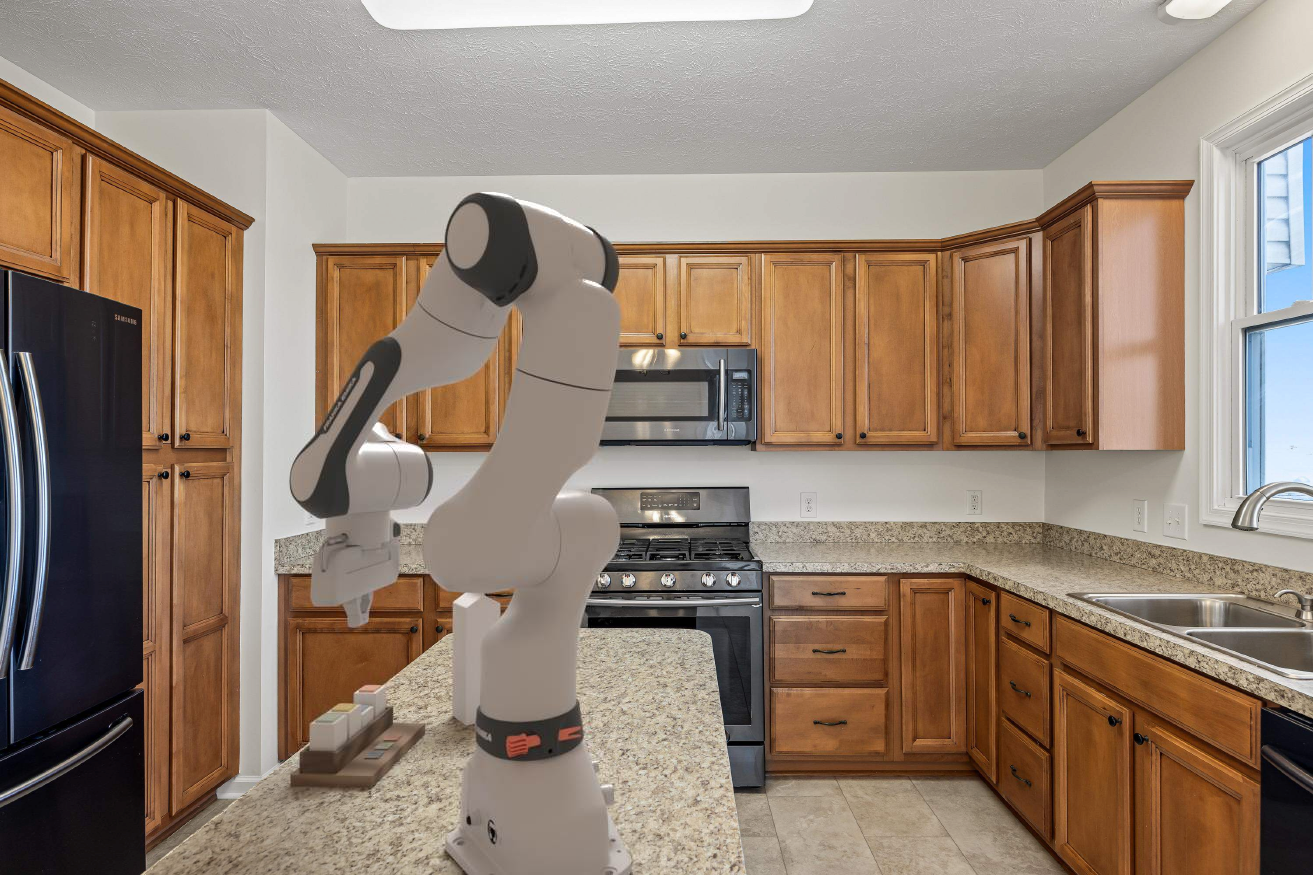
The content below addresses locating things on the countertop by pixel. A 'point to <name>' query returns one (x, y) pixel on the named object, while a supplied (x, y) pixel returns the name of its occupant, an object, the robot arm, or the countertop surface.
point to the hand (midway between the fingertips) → (358, 625)
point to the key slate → (366, 715)
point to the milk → (469, 651)
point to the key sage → (328, 732)
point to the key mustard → (349, 717)
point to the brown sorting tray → (359, 755)
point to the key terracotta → (372, 698)
